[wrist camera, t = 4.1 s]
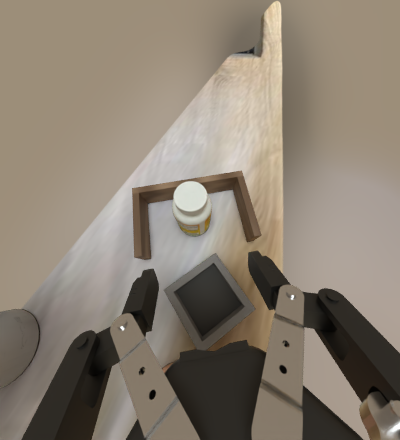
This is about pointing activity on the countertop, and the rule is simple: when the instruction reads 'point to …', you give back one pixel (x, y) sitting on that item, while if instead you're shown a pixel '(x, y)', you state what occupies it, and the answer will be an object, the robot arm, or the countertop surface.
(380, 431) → the robot arm
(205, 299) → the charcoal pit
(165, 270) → the countertop surface
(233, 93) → the countertop surface
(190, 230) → the supplement bottle
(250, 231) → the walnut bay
